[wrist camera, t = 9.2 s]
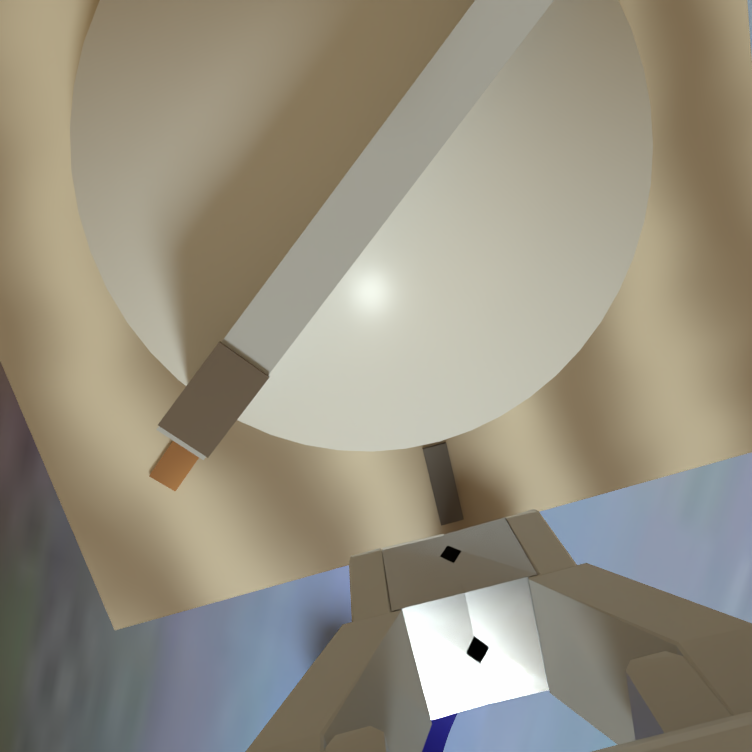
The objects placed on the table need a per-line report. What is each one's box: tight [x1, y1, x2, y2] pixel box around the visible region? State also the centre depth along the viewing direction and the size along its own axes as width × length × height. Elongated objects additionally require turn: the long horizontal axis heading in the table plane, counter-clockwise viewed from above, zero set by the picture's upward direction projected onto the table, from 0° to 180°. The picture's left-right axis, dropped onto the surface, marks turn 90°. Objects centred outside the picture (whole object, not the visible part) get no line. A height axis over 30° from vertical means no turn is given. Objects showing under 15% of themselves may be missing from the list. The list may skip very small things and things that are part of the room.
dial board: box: [0, 0, 752, 630], centre depth 22 cm, size 30×30×2 cm
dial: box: [70, 0, 653, 460], centre depth 19 cm, size 20×20×6 cm
